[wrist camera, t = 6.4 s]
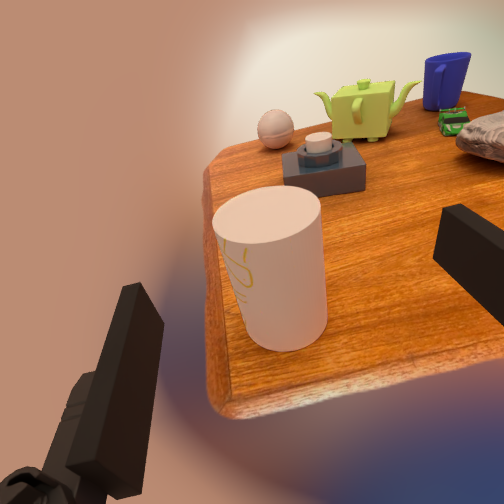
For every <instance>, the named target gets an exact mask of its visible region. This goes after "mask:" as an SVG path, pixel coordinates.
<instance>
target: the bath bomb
mask: <svg viewBox="0 0 504 504" xmlns="http://www.w3.org/2000/svg"><path fill="white" fill-rule="evenodd" d="M257 130H258V136H259V139H260V141H261V142H262V143H263V144H264V145H265V146H267V147H269V148H272V149H279V148H282V147H284V146H285V145H287V144H288V143H289V142H290V140H291V138H292V136H293V132H294V125H293V122H292V119H291V117H290V116H289V115H288V114H287V113H286V112H284V111H282V110H271V111H268V112H267V113H265V114H264V115H263V116H262V117H261V119H260V121H259V123H258V128H257Z"/></svg>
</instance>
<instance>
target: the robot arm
mask: <svg viewBox="0 0 504 504" xmlns="http://www.w3.org/2000/svg"><path fill="white" fill-rule="evenodd" d="M433 259H434V260H435V261H436V262H437V263H438V264H439V265H440V266H441V267H442V268H443V269H444V270H445V271H446V272H447V273H448V274H449V275H450V276H451V277H452V278H454V279H455V280H456V281H457V282H458V283H459V284H460V285H461V286H462V287H463V288H464V289H465V290H466V291H467V292H468V293H469V294H470V295H471V296H472V297H473V298H474V299H476V300H477V301H478V302H479V303H480V304H481V305H482V306H483V307H484V308H485V309H486V310H487V311H488V312H489V313H490V314H491V315H492V316H493V317H494V318H495V319H496V320H498V321H499V322H500V323H501V324H502V325H503V326H504V231H503V230H502V229H500V228H498V227H497V226H495V225H494V224H492V223H491V222H489V221H487V220H486V219H484V218H483V217H481V216H480V215H478V214H476V213H475V212H473V211H472V210H470V209H469V208H467V207H465V206H464V205H462V204H457V205H453V206H448V207H444V208H443V210H442V215H441V220H440V225H439V229H438V234H437V239H436V244H435V249H434V254H433ZM163 331H164V322H163V320H162V319H161V317H160V316H159V314H158V312H157V310H156V308H155V307H154V305H153V303H152V302H151V300H150V298H149V296H148V294H147V293H146V291H145V289H144V288H143V286H142V284H141V283H140V282H139V283H135V284H131V285H127V286H123V288H122V291H121V294H120V297H119V300H118V303H117V306H116V309H115V312H114V315H113V318H112V322H111V325H110V328H109V331H108V334H107V337H106V340H105V343H104V346H103V349H102V353H101V356H100V359H99V362H98V365H97V368H96V371H93V372H88V373H84V374H83V375H82V376H81V377H80V379H79V380H78V382H77V383H76V384H75V386H74V387H73V389H72V391H71V393H70V396H69V399H68V401H67V404H66V408H65V409H64V412H63V415H62V417H61V422H60V423H59V425H58V428H57V431H56V433H55V436H54V439H53V441H52V444H51V447H50V450H49V452H48V455H47V458H46V460H45V463H44V466H43V468H42V471H40V470H38V469H37V468H35V467H24V468H21V469H18V470H16V471H14V472H13V473H12V474H10V475H9V476H7V477H6V478H5V479H4V480H3V481H2V482H1V483H0V504H106V499H107V494H108V495H110V496H112V497H113V498H114V499H116V500H119V499H123V498H127V497H131V496H136V495H140V494H142V486H143V478H144V472H145V463H146V456H147V449H148V441H149V435H150V427H151V420H152V412H153V405H154V397H155V390H156V383H157V375H158V368H159V360H160V353H161V345H162V338H163Z"/></svg>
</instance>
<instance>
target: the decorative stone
mask: <svg viewBox="0 0 504 504" xmlns="http://www.w3.org/2000/svg"><path fill="white" fill-rule="evenodd" d="M456 145H457V147H458V148H459V149H461V150H462V151H465V152H467V153H470V154H472V155H476V156H480V157H483V158H487V159H491V160H495V161H498V162H501V163H504V110H503V111H502V112H498V113H495V114H490V115H486V116H482V117H480V118H477V119H475V120H473V121H471V122H470V123H468V124H467V125H465V126H464V128H463V129H462V130H461V131H460V132H459V133H458V135H457V138H456Z"/></svg>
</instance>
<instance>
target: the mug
mask: <svg viewBox="0 0 504 504" xmlns="http://www.w3.org/2000/svg"><path fill="white" fill-rule="evenodd" d="M470 58H471V53H468V52H457V53H448V54H442V55H437V56H434V57H430V58H428V59H426V61H425V73H424V91H423V106H424V108H425V109H427V110H431V111H440V109H441V110H445V109H449V108H452V107H454V106H455V105H456V104H457V102H458V100H459V97H460V94H461V90H462V86H463V83H464V79H465V75H466V72H467V69H468V65H469V62H470Z"/></svg>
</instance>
